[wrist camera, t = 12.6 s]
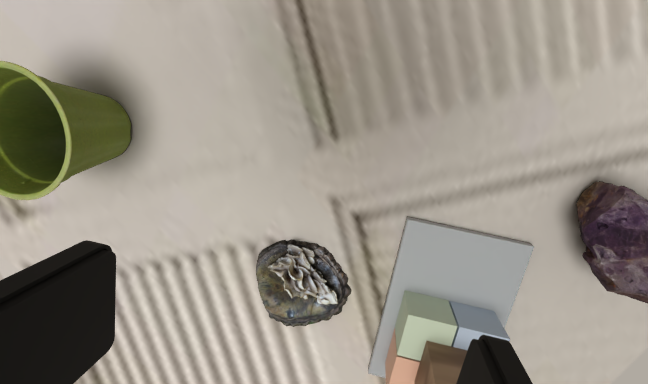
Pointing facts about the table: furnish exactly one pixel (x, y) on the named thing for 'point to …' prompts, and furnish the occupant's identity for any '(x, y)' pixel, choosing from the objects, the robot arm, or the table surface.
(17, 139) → the plant pot
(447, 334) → the sage block
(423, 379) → the walnut block
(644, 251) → the rock
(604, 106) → the table surface
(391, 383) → the terracotta block
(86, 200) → the table surface
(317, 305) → the grey oval shell
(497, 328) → the blue block
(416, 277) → the assembly board
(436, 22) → the table surface
